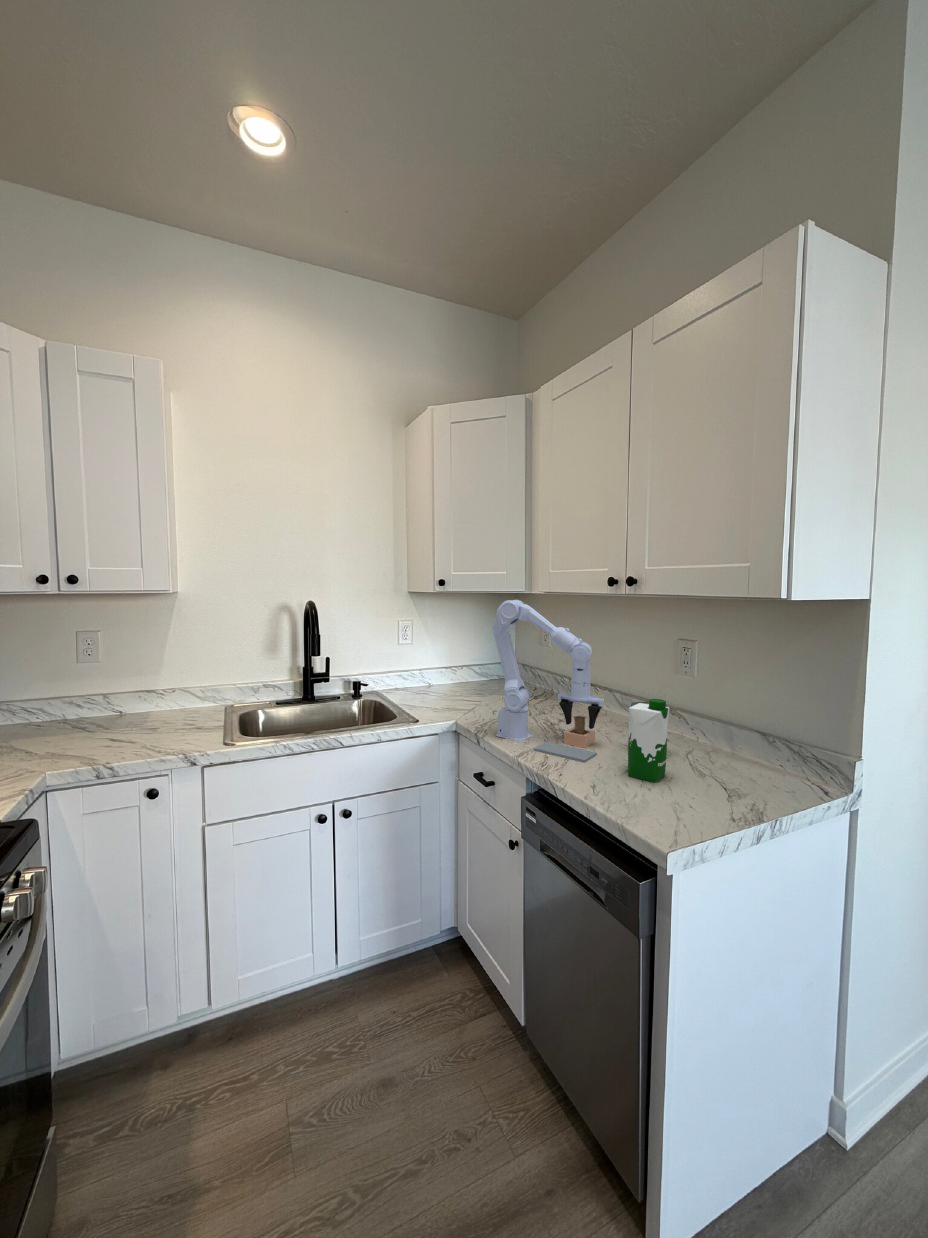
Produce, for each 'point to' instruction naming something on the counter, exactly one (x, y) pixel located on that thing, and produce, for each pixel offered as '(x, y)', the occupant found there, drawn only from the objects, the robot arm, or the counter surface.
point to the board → (565, 752)
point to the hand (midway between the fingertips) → (579, 726)
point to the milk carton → (648, 740)
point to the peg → (580, 725)
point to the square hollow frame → (579, 738)
